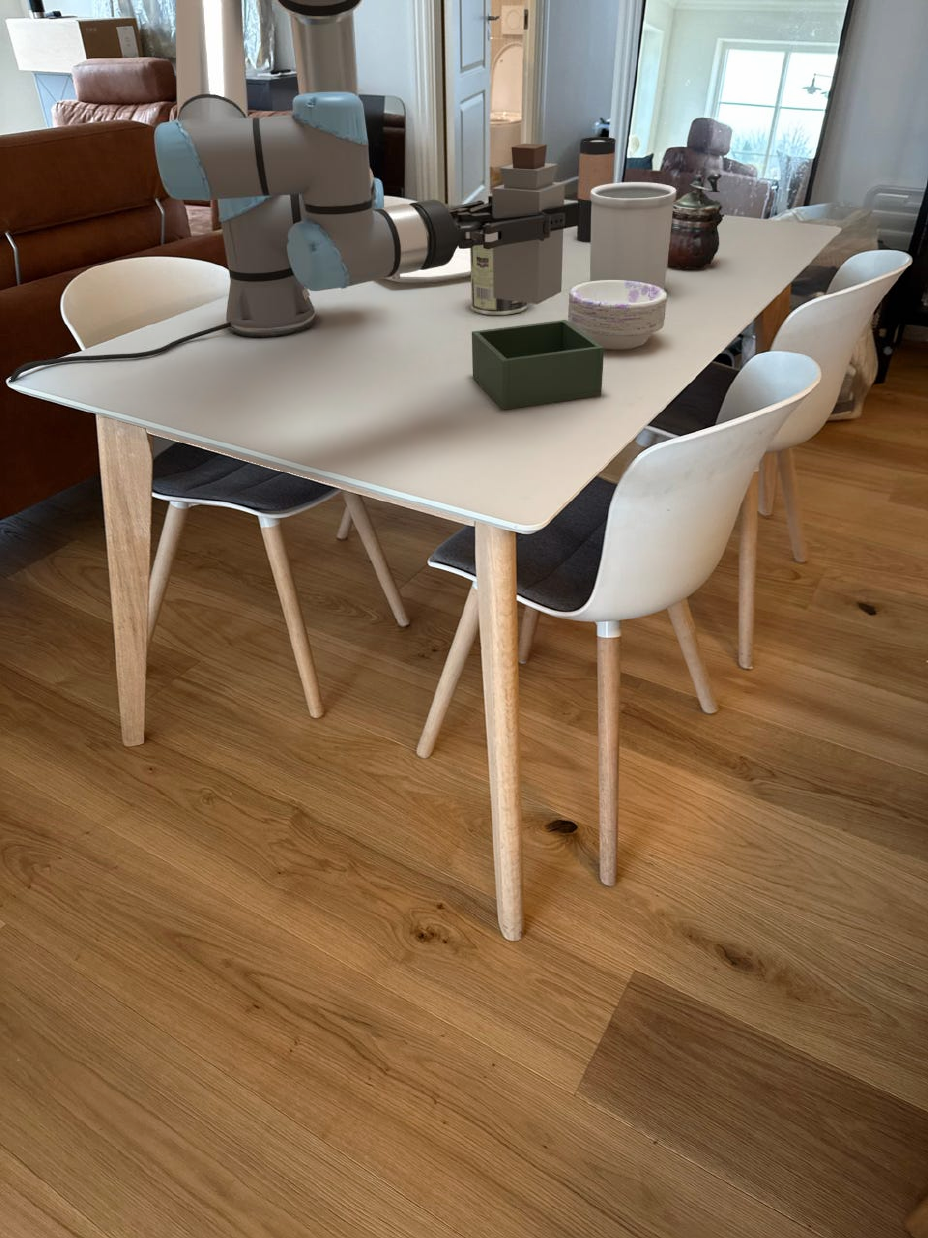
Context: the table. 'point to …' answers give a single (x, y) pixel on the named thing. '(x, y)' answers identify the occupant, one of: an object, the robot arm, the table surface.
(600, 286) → the paper bowls
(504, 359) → the tote
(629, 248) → the utensil holder
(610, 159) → the travel mug
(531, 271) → the perfume bottle
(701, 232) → the coffee grinder
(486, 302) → the coffee can
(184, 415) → the table surface
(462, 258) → the plate
